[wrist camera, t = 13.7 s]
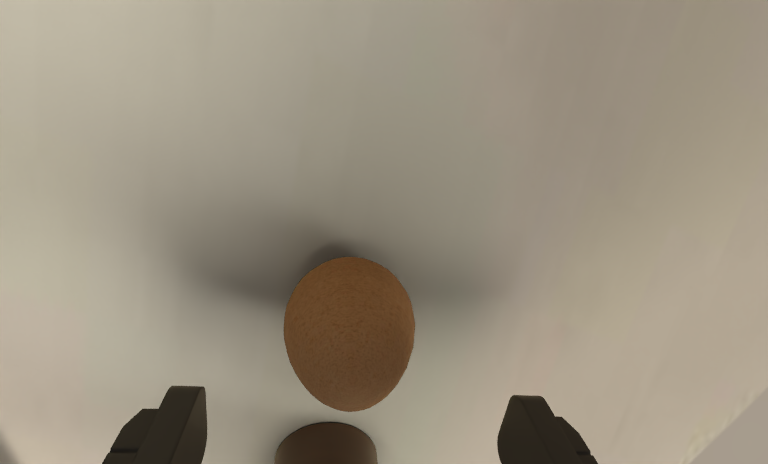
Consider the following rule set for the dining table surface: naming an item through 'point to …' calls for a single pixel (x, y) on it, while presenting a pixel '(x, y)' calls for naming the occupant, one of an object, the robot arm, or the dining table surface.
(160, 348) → the dining table surface
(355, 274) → the egg
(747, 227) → the dining table surface
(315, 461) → the pepper grinder
